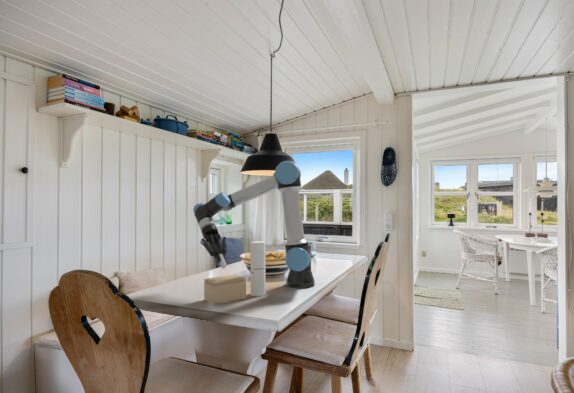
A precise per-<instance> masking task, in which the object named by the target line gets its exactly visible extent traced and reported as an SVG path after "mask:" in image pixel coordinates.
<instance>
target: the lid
mask: <svg viewBox="0 0 574 393" xmlns="http://www.w3.org/2000/svg"><path fill="white" fill-rule="evenodd" d="M203 280H204V282H207V283H209V284H212V285H221V284H227V283H233V282H239V281H246V278H245V277H243V276H241V275H238V274H230V275H222V276H216V277H209V278H204V279H203Z"/></svg>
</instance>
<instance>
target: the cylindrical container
mask: <svg viewBox="0 0 574 393" xmlns="http://www.w3.org/2000/svg"><path fill="white" fill-rule="evenodd" d="M249 246H250V247H249V248H250V251H249V252H250V255H249V256H250V268H249V269H250V296H252V297H264V296H266V294H267V293H266V290H267V289H266V241H261V240H260V241H259V240H257V241H256V240H254V241H250V244H249Z"/></svg>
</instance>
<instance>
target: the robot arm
mask: <svg viewBox="0 0 574 393" xmlns="http://www.w3.org/2000/svg"><path fill="white" fill-rule="evenodd" d="M272 174H273V175H271V176H269V177H267V178H265V179H262V180H260V181H258V182H255V183H254V184H251V185H248V186H246V187H244V188H241V189H240V190H237V191H235V192H232V193H230V194H228V195H227V193H225V192H223V191H222V192H219V193H218V194H216V195H215V196H214V197H212V198H211V199H210V200H208V201H207V202H206V203H204V202H199V203H196V204H195V205H194V206H193V214H194V217H195V219H196V222H197V225H198V227H199V229H200V231H201V234H202V235H201V236H202V237H203V238H200V239H201V240H200V242H199V243H200V245H202V246H203V247H204V249H205V250H206V251H207V253H208V254H209V255H210V257H213V258H214V259H216V261H217V263H219V266H220V267H221V269H226V267H227V262H226V260H227V258H226V254H227V252H228V251H227V243H226V238H227V237H226V236H223V237H222V236H221V234H220V233H219V230H218V228H217V226H216V223H215V221H214V219H213V217H214V216H215V215H217V214H218V213H219V212H221V211H222V212H225V211H226V212H228V211H231V210H232V209H233V208H236V207H238V206H241V205H244V204H245V203H247V202H250V201H252V200H255V199H257V198H260V197H262V196H264V195H266V194H269V193H271V192H274V191H276V190H278V191H279V192H280V193H281V198H282V205H283V206H282V207H283V215H284V216H283V217H284V223H285V231H286V240H287V241H286V242H285V243H284V248H285V260H284V261H285V264H286V266H287V267H288V268H289V271H288V274H287V277H286V280H285V281H286V284H285V286H287V287H289V288H294V289H296V288H297V289H307V288H312V287H314V286H315V282H316V280H315V278H314V274H313V272H312V243H311V242H310V241H308V240H307V239H306V238H305V233H304V232H305V231H304V224H303V216H302V208H301V200H300V189H301V188H302V184H301V183H302V182H301V175H302V173H301V170H300V168H299V166H298V165H297V164H296V163H295V162H293V161H291V160H284V161H281V162H280V163H278V165H277V166H276V167H275V171H274V173H272ZM220 242H221V243H220Z"/></svg>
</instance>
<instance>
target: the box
mask: <svg viewBox="0 0 574 393" xmlns="http://www.w3.org/2000/svg"><path fill="white" fill-rule="evenodd" d="M203 283H204V285H203V291H204V292H203V298H204V301H206V302H208V303H209V304H211V305H213V306H215V305H220V304H224V303H226V304H227V303H231V302H236V301H239V300H245V299H247V280H245V281H239V282H233V283H227V284H221V285H212V284H209V283H207V282H205V281H204V282H203Z"/></svg>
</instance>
